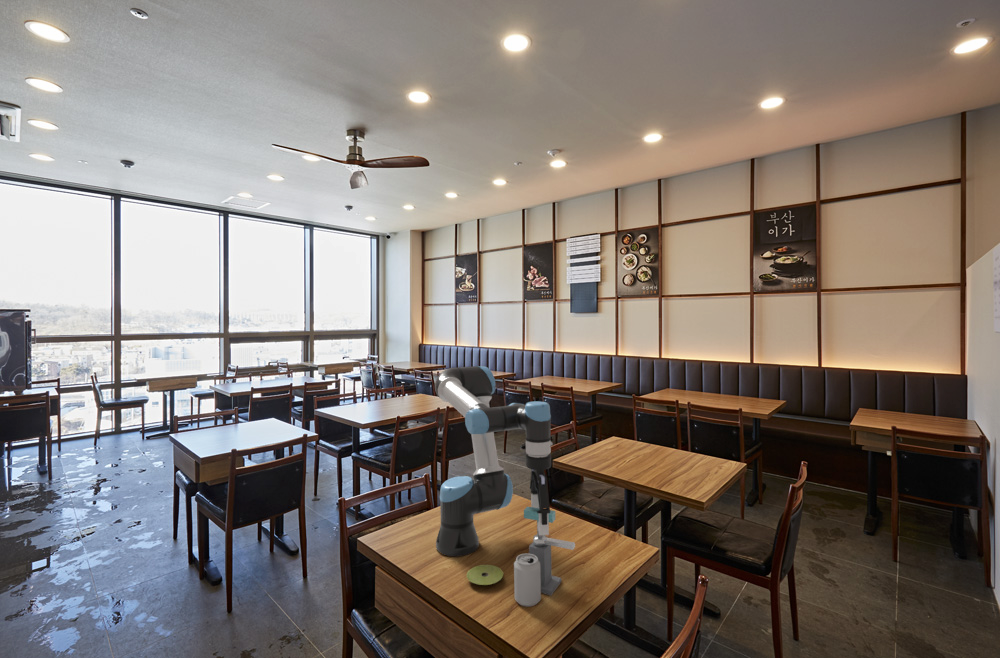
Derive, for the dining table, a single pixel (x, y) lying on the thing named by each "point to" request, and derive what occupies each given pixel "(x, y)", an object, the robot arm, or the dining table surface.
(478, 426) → the robot arm
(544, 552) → the grey pedestal post
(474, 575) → the mat
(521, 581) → the can
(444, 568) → the dining table surface
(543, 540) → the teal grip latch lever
